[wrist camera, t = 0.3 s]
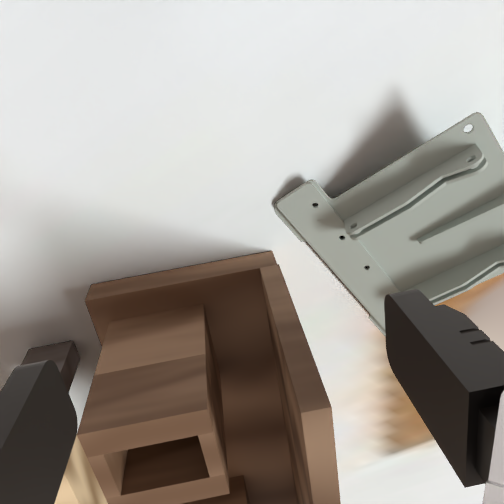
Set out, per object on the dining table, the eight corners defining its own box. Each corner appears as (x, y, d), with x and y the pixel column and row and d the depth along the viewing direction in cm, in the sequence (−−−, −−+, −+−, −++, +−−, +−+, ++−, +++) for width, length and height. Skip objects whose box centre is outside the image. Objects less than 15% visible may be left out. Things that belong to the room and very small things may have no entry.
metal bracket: (491, 79, 21) (596, 281, 27) (458, 50, 26) (555, 228, 32) (256, 229, 28) (384, 366, 34) (264, 184, 32) (375, 312, 38)
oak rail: (29, 348, 31) (-16, 436, 24) (72, 340, 31) (40, 425, 25) (105, 513, 39) (87, 612, 32) (140, 506, 39) (129, 603, 33)
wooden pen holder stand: (91, 284, 30) (16, 470, 17) (273, 250, 30) (331, 406, 17) (178, 528, 41) (172, 745, 29) (309, 501, 42) (359, 702, 29)
